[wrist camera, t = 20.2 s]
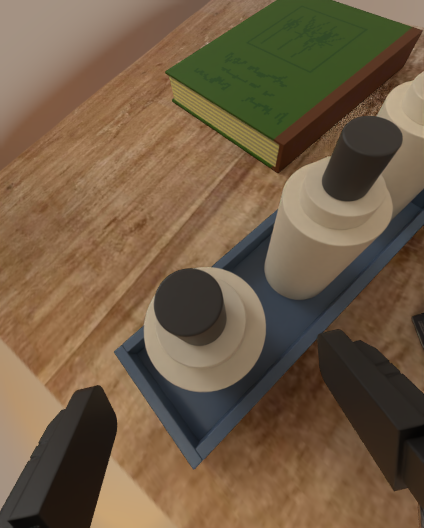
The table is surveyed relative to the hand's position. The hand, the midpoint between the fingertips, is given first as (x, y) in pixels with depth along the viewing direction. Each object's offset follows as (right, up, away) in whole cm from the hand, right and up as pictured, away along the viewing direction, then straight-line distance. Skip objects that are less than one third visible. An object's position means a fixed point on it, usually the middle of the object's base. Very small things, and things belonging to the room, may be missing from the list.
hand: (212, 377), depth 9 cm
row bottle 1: (+7, +4, +13) cm, 16 cm away
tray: (+7, +3, +14) cm, 16 cm away
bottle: (+1, -3, +11) cm, 12 cm away
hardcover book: (+10, +28, +25) cm, 39 cm away
